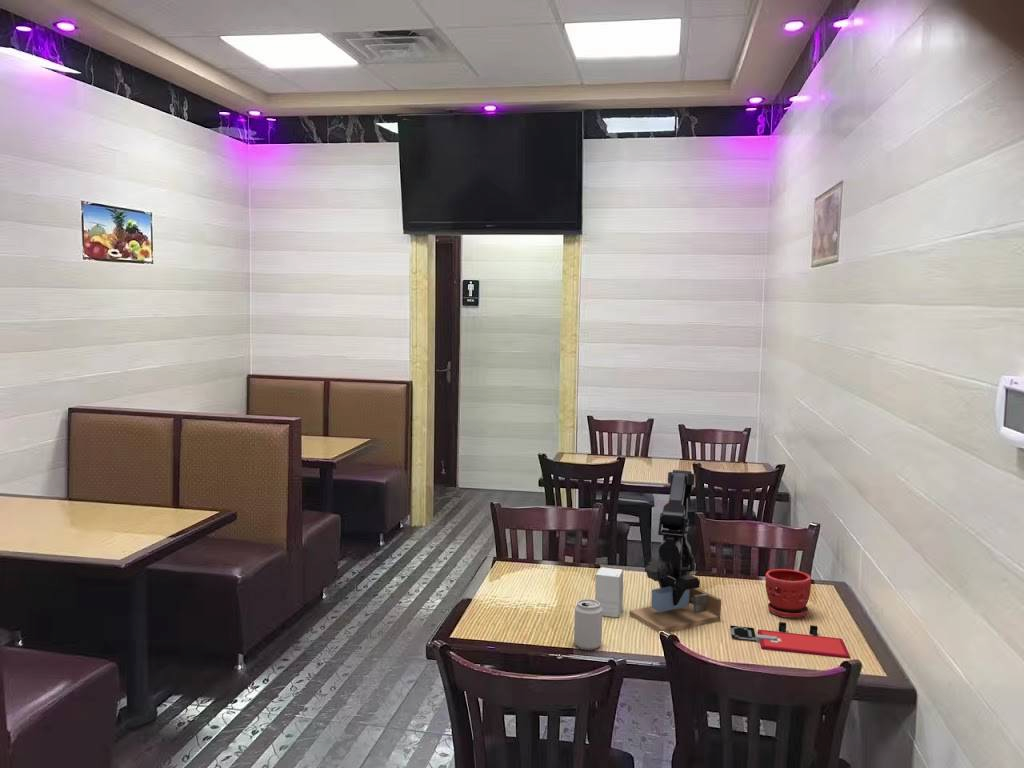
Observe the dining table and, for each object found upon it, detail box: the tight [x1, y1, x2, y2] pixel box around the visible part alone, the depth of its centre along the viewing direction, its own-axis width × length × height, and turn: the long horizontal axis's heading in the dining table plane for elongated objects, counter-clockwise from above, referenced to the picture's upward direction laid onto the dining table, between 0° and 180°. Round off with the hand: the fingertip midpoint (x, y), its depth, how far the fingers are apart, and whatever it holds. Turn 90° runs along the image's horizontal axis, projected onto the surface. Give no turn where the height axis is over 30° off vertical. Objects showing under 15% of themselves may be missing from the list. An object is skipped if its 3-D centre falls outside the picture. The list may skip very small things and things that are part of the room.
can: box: [573, 598, 603, 651], centre depth 210 cm, size 8×8×12 cm
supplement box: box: [594, 566, 624, 618], centre depth 234 cm, size 7×7×13 cm
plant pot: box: [765, 568, 812, 619], centre depth 236 cm, size 13×13×12 cm
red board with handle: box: [729, 621, 851, 660], centre depth 216 cm, size 30×3×15 cm
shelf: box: [629, 588, 722, 633], centre depth 231 cm, size 22×15×6 cm
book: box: [650, 586, 690, 612], centre depth 232 cm, size 11×4×6 cm, turn 118°
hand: (670, 602), depth 232 cm, fingers closed on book, 4 cm apart
